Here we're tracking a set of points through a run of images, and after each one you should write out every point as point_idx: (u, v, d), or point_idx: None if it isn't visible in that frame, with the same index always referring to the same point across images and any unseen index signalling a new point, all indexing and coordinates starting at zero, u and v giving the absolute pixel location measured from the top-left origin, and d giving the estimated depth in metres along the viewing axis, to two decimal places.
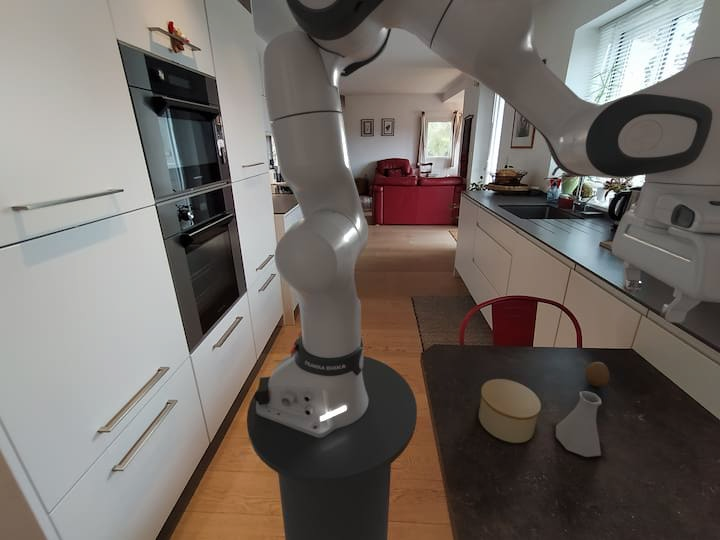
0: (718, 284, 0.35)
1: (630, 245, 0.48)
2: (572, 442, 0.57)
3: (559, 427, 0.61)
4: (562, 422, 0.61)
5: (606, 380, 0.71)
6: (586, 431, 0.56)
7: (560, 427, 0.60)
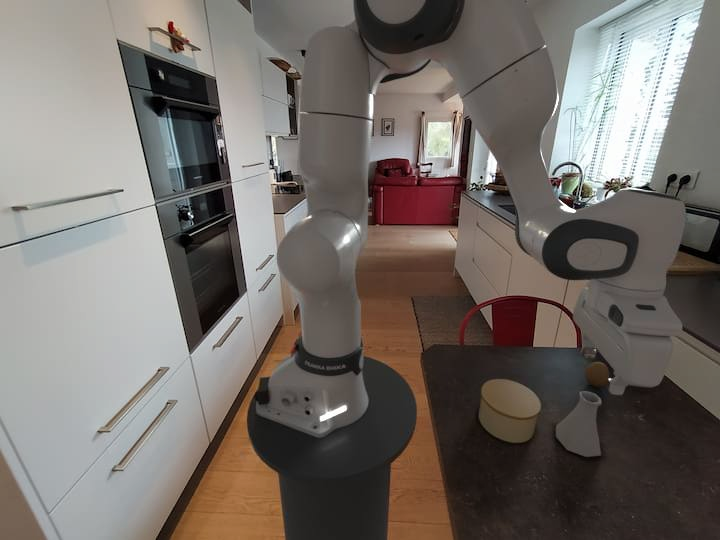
0: (641, 375, 0.43)
1: (585, 320, 0.57)
2: (572, 442, 0.57)
3: (559, 427, 0.61)
4: (562, 422, 0.61)
5: (606, 380, 0.71)
6: (586, 431, 0.56)
7: (560, 427, 0.60)
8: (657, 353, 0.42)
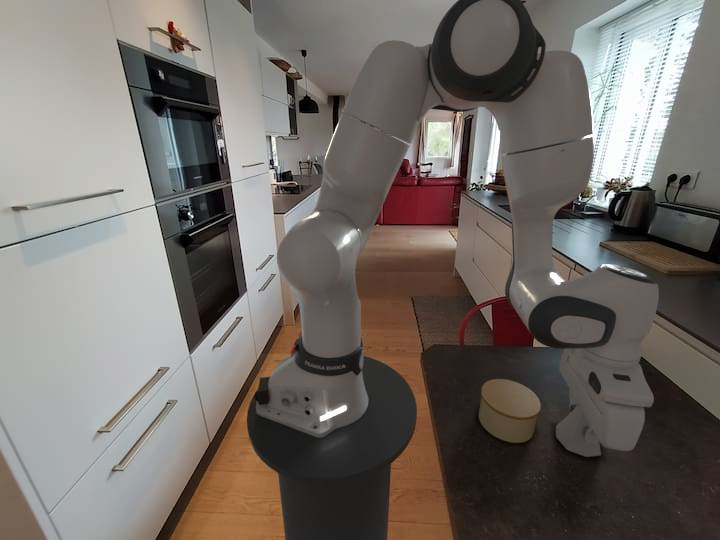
0: (617, 440, 0.47)
1: (569, 374, 0.60)
2: (572, 442, 0.57)
3: (559, 427, 0.61)
4: (562, 422, 0.61)
5: None
6: None
7: (560, 427, 0.60)
8: (631, 422, 0.46)
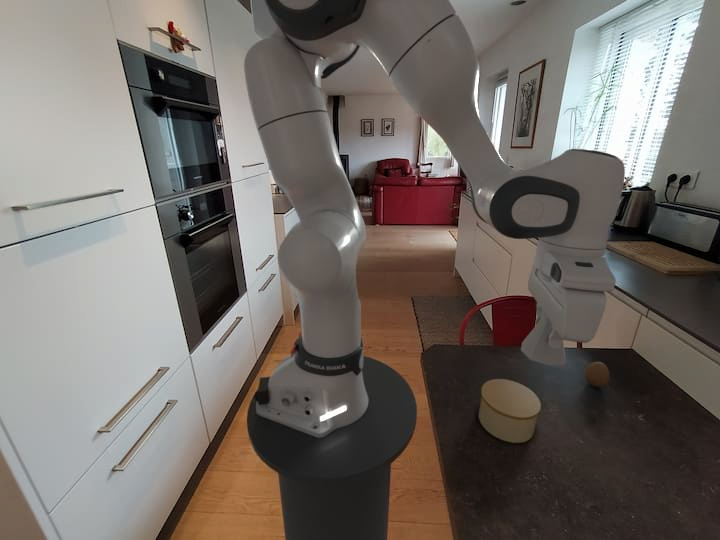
0: (576, 329, 0.44)
1: (536, 286, 0.58)
2: (536, 351, 0.54)
3: (525, 342, 0.58)
4: (528, 336, 0.58)
5: (606, 380, 0.71)
6: None
7: (525, 341, 0.57)
8: (591, 307, 0.43)
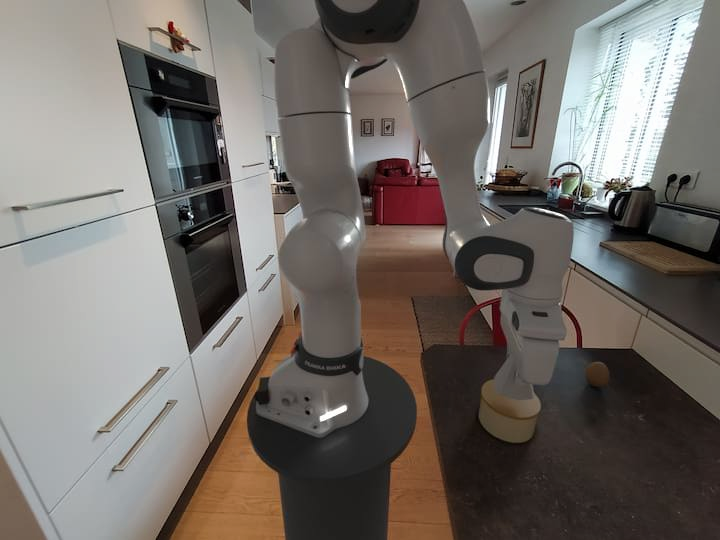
0: (533, 374, 0.48)
1: (506, 324, 0.62)
2: (505, 387, 0.59)
3: (496, 376, 0.62)
4: (499, 371, 0.62)
5: (606, 380, 0.71)
6: None
7: (496, 376, 0.62)
8: (545, 355, 0.48)
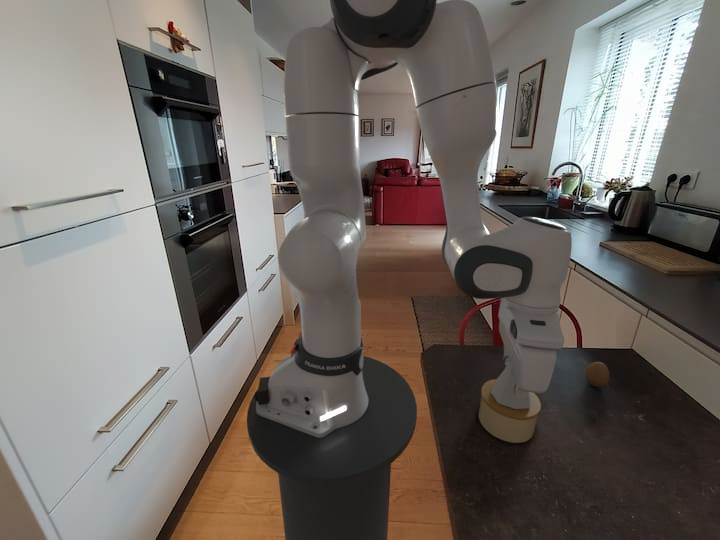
0: (531, 382, 0.49)
1: (504, 331, 0.63)
2: (503, 396, 0.59)
3: (495, 384, 0.63)
4: (497, 379, 0.63)
5: (606, 380, 0.71)
6: (515, 384, 0.58)
7: (495, 384, 0.62)
8: (543, 363, 0.48)
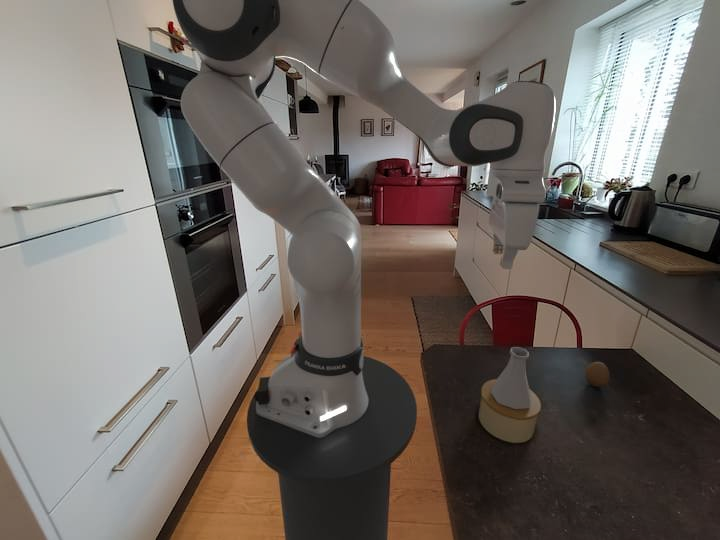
0: (515, 236, 0.51)
1: (493, 217, 0.65)
2: (503, 396, 0.59)
3: (495, 384, 0.63)
4: (497, 379, 0.63)
5: (606, 380, 0.71)
6: (515, 384, 0.58)
7: (495, 384, 0.62)
8: (526, 216, 0.50)
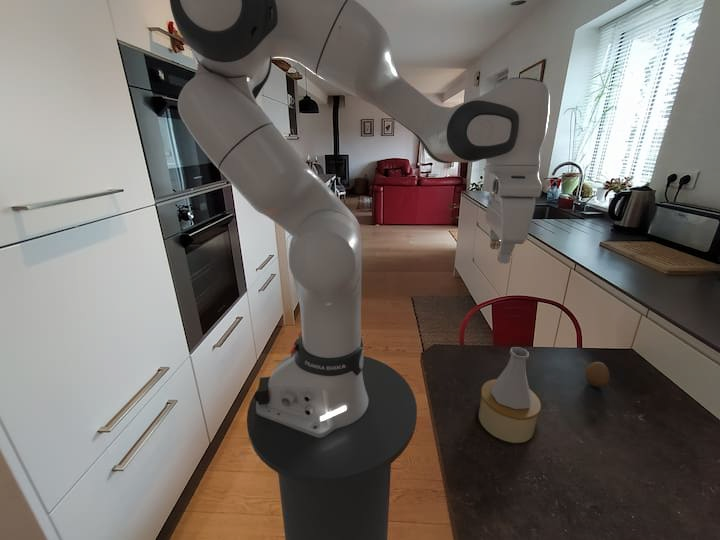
0: (512, 230, 0.52)
1: (490, 213, 0.65)
2: (503, 396, 0.59)
3: (495, 384, 0.63)
4: (497, 379, 0.63)
5: (606, 380, 0.71)
6: (515, 384, 0.58)
7: (495, 384, 0.62)
8: (522, 210, 0.51)
